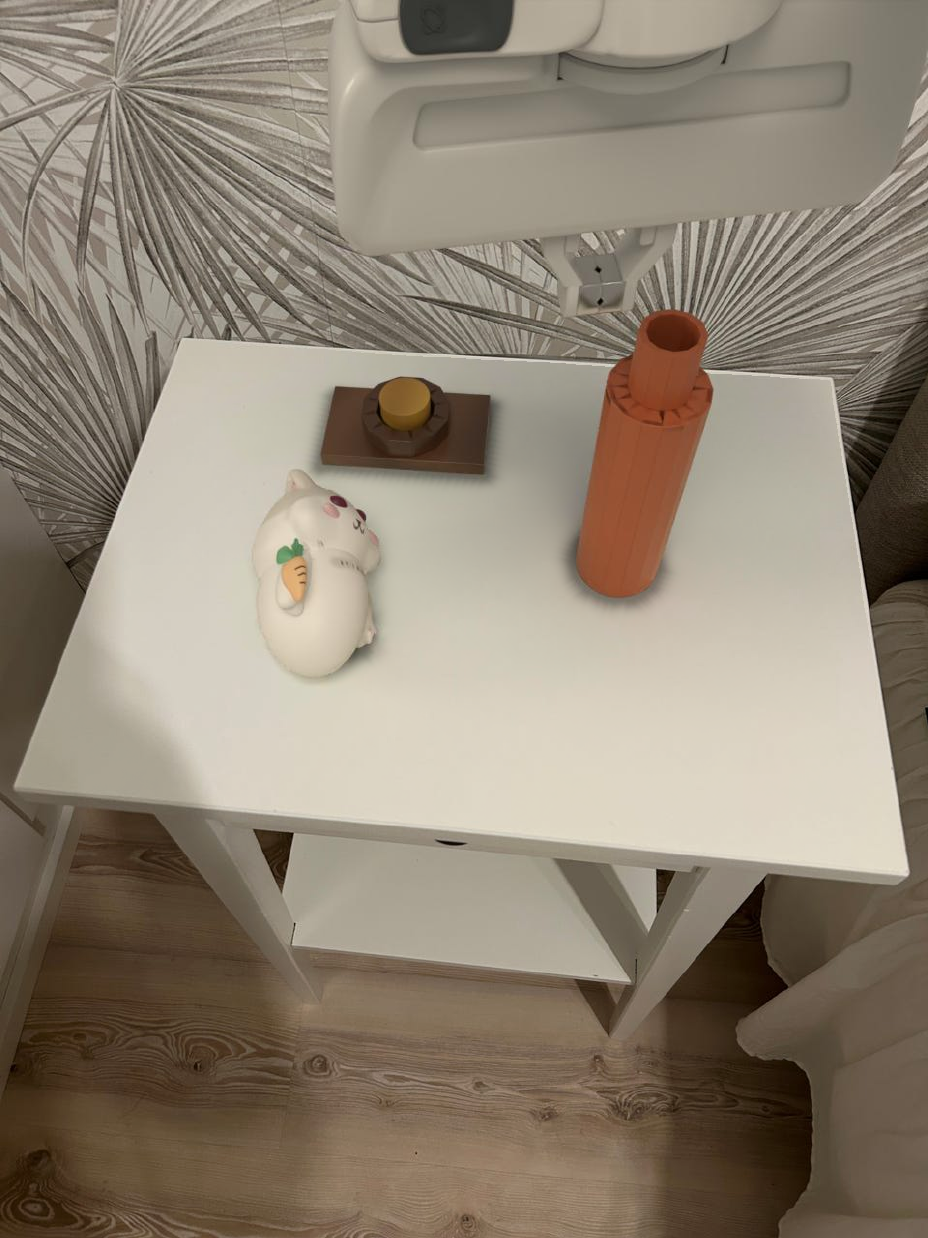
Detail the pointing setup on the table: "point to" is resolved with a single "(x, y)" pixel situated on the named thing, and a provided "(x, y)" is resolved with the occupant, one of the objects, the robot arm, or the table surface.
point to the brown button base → (407, 432)
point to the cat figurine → (314, 578)
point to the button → (405, 404)
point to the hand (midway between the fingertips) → (593, 304)
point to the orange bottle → (644, 453)
